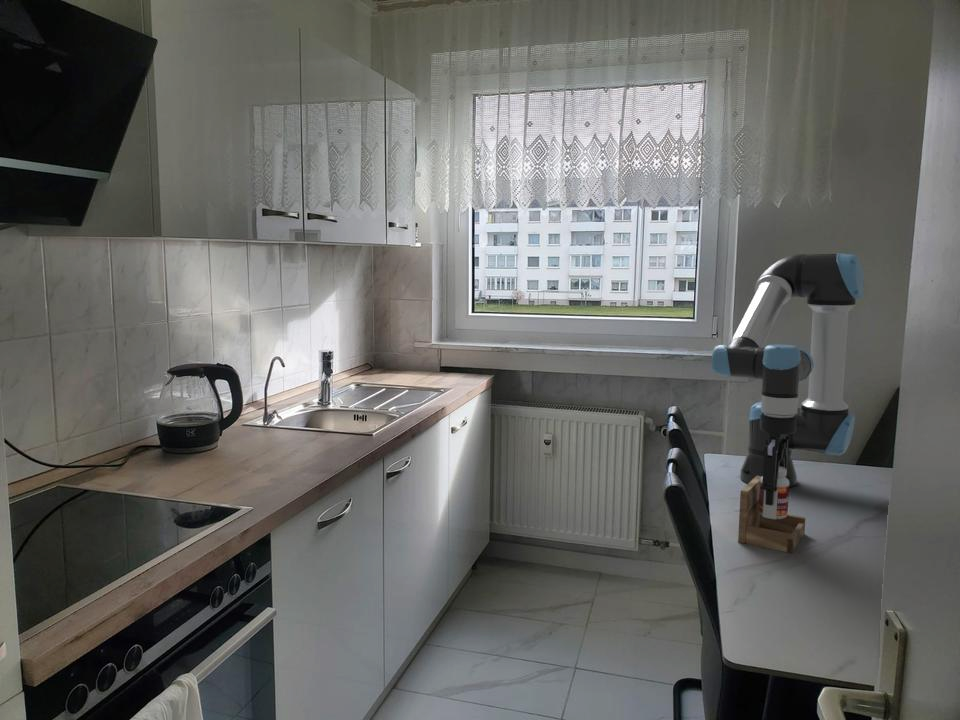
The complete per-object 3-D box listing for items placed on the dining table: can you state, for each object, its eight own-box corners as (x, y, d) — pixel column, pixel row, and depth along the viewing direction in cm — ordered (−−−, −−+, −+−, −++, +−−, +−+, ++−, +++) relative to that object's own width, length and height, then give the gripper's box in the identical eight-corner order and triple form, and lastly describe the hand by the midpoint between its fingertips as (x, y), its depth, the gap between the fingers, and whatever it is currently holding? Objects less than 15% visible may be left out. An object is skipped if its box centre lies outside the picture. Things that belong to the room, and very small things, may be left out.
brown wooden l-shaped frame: (754, 523, 174) (756, 475, 172) (804, 533, 167) (807, 483, 166) (738, 542, 162) (740, 490, 161) (791, 553, 156) (794, 500, 154)
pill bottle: (776, 521, 160) (779, 473, 158) (752, 513, 165) (754, 467, 163) (793, 516, 163) (796, 469, 162) (769, 508, 168) (771, 462, 167)
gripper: (771, 405, 171) (765, 499, 174) (750, 419, 155) (744, 522, 158) (805, 408, 167) (799, 504, 170) (787, 424, 151) (780, 529, 154)
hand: (773, 513), depth 164 cm, fingers closed on pill bottle, 6 cm apart
